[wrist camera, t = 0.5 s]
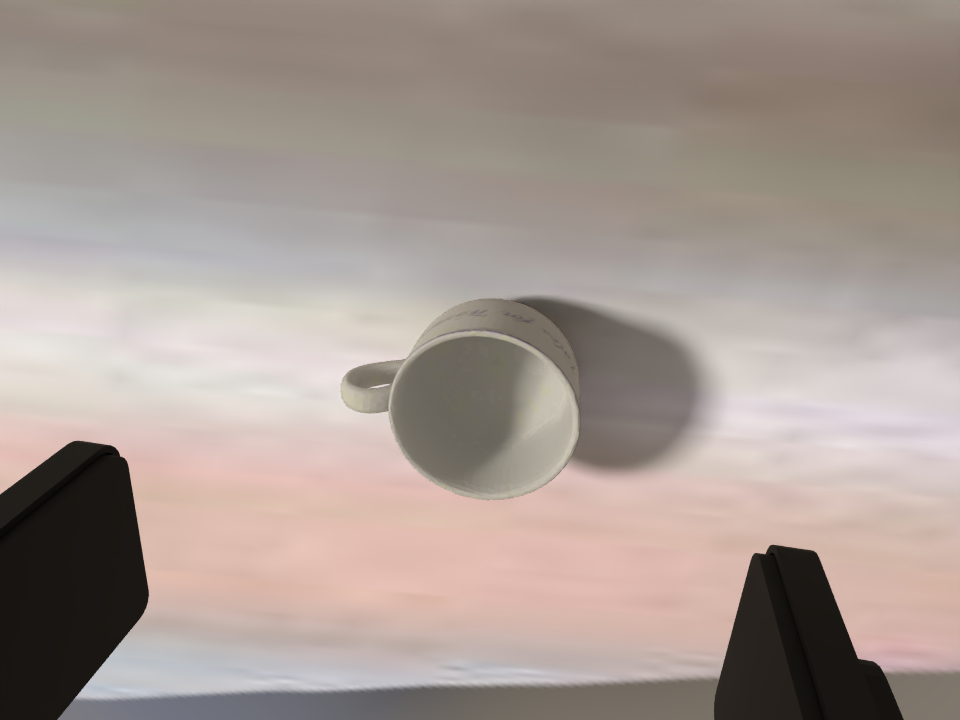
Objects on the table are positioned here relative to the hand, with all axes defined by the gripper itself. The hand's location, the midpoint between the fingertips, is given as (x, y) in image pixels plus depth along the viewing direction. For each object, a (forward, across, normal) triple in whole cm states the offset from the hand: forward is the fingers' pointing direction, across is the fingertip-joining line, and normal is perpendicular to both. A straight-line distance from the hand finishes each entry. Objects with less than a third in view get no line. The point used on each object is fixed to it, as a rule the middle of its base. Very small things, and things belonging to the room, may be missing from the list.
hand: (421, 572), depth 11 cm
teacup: (+35, +4, +12) cm, 37 cm away
